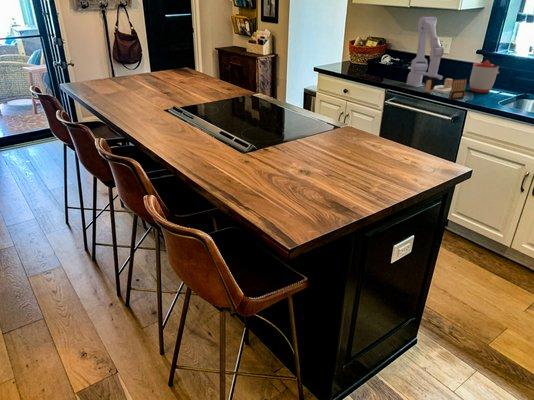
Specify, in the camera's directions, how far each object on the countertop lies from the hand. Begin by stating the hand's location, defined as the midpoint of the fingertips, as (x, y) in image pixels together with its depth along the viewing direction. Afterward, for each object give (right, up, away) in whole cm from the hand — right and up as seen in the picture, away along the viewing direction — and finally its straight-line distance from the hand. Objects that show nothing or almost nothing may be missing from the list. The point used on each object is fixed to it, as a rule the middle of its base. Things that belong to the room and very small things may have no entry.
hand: (429, 88), depth 273 cm
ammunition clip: (+12, -10, -12) cm, 19 cm away
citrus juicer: (+38, +1, +9) cm, 39 cm away
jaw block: (0, -2, +1) cm, 2 cm away
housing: (+12, +1, +8) cm, 14 cm away
